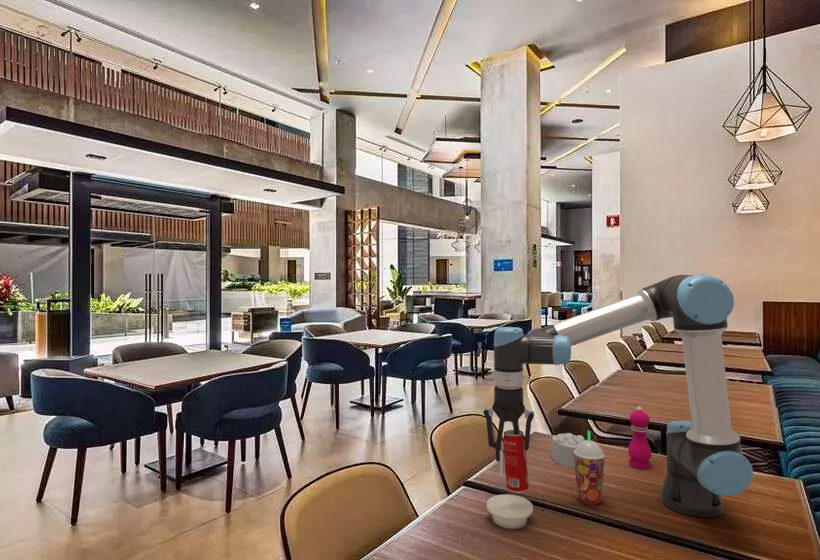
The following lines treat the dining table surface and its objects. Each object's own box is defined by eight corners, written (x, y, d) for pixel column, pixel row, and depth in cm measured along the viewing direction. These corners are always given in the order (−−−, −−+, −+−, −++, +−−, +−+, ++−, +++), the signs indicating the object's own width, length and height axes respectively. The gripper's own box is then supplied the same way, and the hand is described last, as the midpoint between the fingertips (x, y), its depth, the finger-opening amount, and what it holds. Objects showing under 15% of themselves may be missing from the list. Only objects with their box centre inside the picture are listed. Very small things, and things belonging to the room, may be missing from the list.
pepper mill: (655, 470, 159) (655, 409, 159) (633, 470, 159) (633, 409, 159) (645, 461, 166) (645, 403, 166) (624, 461, 166) (624, 403, 166)
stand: (533, 511, 132) (533, 497, 132) (531, 534, 120) (531, 518, 120) (489, 506, 135) (489, 492, 135) (483, 527, 124) (483, 512, 124)
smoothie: (582, 491, 144) (581, 424, 144) (610, 500, 138) (609, 430, 138) (568, 500, 138) (568, 431, 138) (597, 510, 132) (596, 438, 132)
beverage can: (530, 494, 124) (530, 436, 124) (505, 493, 124) (504, 435, 124) (526, 484, 130) (525, 428, 130) (501, 483, 130) (501, 428, 130)
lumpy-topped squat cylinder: (574, 453, 175) (574, 429, 174) (595, 467, 162) (595, 441, 162) (548, 456, 172) (548, 432, 172) (567, 470, 160) (567, 444, 160)
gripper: (476, 387, 126) (476, 476, 126) (539, 391, 122) (539, 483, 122) (480, 381, 133) (480, 465, 134) (540, 384, 129) (540, 472, 129)
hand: (508, 474), depth 128 cm, fingers open, 3 cm apart
